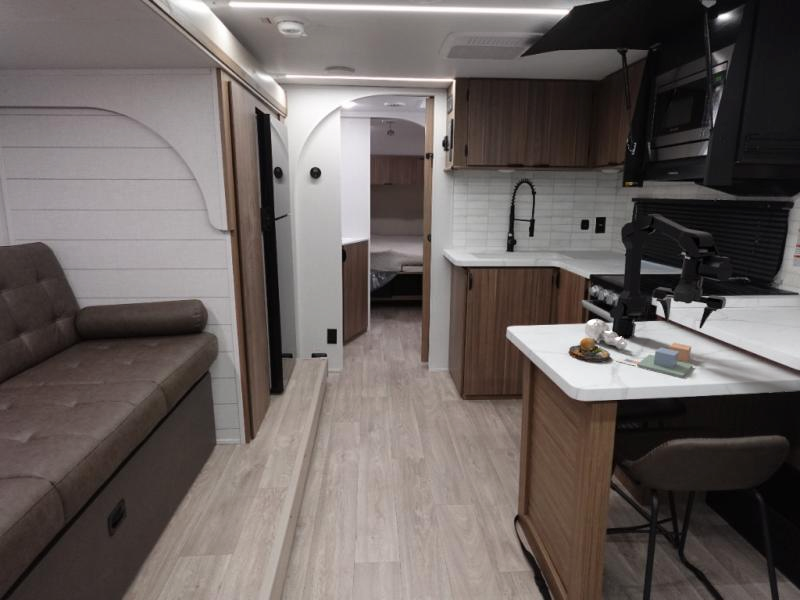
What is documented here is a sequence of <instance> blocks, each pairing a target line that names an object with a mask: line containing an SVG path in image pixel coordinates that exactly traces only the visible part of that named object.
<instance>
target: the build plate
mask: <svg viewBox="0 0 800 600" xmlns="http://www.w3.org/2000/svg"><path fill="white" fill-rule="evenodd" d="M654 358H655V354H654V355H653V354H647V356H645V357H644V358H643V359H642V360H641V362H639V363H638V364H637V366H639V367H638V368H640V367H643V368H642V369H644V368H646V369H645V370H648V369H649V371H652V370H653V372H656V371H657V372H658V373H660V372H661V374H665V375H669V376H672V377H676V376H677V377H676V378H681V379H683V378H684V377H685V376H686V375H687V373H688V372H690V371H691V369H692V368H693V365H694V364H691V363H689V362H688V363H687V362H683V361H678V360H677V365H676V366H675V367H673V368H672V369H671V368H667V367H663V366H659V365H655V364H654Z"/></svg>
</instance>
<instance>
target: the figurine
mask: <svg viewBox="0 0 800 600" xmlns="http://www.w3.org/2000/svg"><path fill="white" fill-rule="evenodd" d="M584 333H585V335H586V337H587V338H591V339H593V340H594V341H595V343H597V344H598V343H599V344H600V343H601V341H604V342H605V344H606V345H609V346H614V347H615V346H616V347H615V348H617V349H618V350H619V351H621V350H620V349H623V350H624V349H626V347H628V343H627V342H626V341H625V338H624V337H619V336H618V335H617V333H615V332H613V331H612V330H610V326H609V325H608V323H607V322H606V321H603V319H599V318H593V319H590V320H588V321H587V322H586V323H585V324H584Z"/></svg>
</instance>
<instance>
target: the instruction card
mask: <svg viewBox="0 0 800 600" xmlns="http://www.w3.org/2000/svg"><path fill="white" fill-rule="evenodd" d="M616 361H618V363H620V362H622V363H621V364H624V363H626V364H625V365H628V364H630V365H629V366H632V365H634V366H633V367H636V366H637V364H638V363H639V362H641V361H642V360H639V359H636V358H632V357H628V356H624V357H623V356H621V357H620V358H618V359H617V360H616ZM635 365H636V366H635ZM637 368H640V367H639V366H638V367H637ZM641 369H644V368H643V367H642V368H641Z"/></svg>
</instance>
